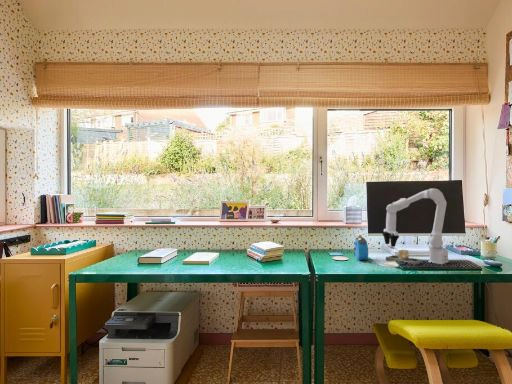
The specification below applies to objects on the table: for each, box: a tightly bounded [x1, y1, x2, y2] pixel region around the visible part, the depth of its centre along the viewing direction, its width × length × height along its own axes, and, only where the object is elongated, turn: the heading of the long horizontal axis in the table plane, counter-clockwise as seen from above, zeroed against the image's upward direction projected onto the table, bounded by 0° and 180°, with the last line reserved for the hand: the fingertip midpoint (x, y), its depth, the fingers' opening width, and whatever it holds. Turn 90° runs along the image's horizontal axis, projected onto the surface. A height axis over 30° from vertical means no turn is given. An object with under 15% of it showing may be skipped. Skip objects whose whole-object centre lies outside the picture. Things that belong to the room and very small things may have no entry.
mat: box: [383, 261, 400, 268], centre depth 212 cm, size 9×9×1 cm
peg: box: [398, 249, 410, 260], centre depth 217 cm, size 4×4×7 cm
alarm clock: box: [354, 235, 369, 261], centre depth 229 cm, size 13×6×15 cm, turn 176°
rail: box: [385, 254, 424, 265], centre depth 217 cm, size 20×8×2 cm, turn 33°
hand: (390, 245), depth 219 cm, fingers open, 7 cm apart
